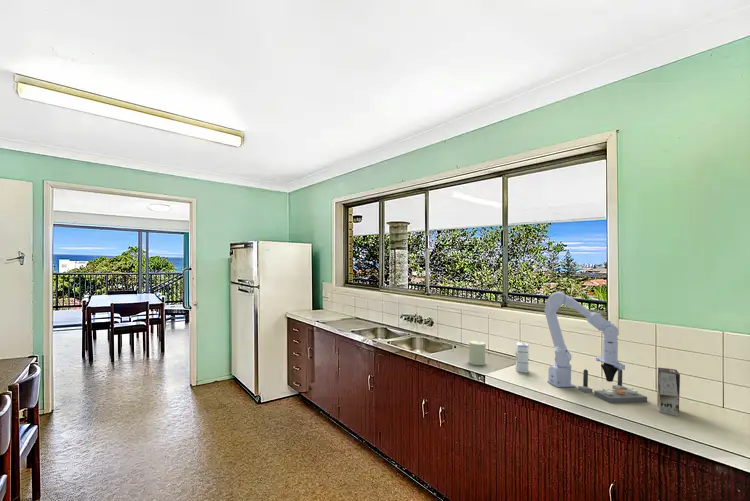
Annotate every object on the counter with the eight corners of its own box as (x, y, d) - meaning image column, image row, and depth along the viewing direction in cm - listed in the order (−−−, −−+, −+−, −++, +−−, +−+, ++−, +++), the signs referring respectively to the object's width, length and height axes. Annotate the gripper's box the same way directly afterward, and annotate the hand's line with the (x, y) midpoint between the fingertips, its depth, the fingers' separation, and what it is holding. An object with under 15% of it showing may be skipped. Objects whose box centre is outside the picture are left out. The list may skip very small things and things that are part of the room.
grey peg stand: (584, 392, 170) (585, 370, 170) (578, 389, 174) (578, 368, 174) (592, 392, 171) (592, 370, 171) (586, 389, 175) (586, 368, 175)
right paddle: (632, 394, 164) (633, 390, 164) (626, 391, 167) (626, 387, 167) (637, 393, 164) (637, 390, 164) (631, 391, 167) (631, 387, 167)
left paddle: (608, 394, 162) (608, 391, 162) (602, 392, 165) (603, 388, 165) (613, 394, 162) (613, 390, 162) (607, 392, 165) (607, 388, 165)
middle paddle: (620, 394, 163) (620, 390, 163) (614, 391, 166) (615, 388, 166) (625, 394, 163) (625, 390, 163) (619, 391, 166) (619, 388, 166)
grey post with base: (619, 391, 173) (619, 370, 174) (612, 388, 177) (612, 367, 177) (627, 391, 174) (627, 370, 174) (620, 388, 178) (620, 367, 178)
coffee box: (679, 416, 146) (680, 374, 147) (659, 412, 150) (659, 371, 150) (676, 409, 154) (677, 369, 154) (656, 405, 158) (657, 366, 158)
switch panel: (610, 403, 158) (610, 398, 158) (594, 395, 167) (594, 390, 167) (647, 401, 161) (647, 396, 161) (629, 394, 170) (629, 389, 170)
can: (487, 362, 215) (487, 341, 215) (482, 366, 207) (483, 344, 208) (471, 359, 220) (472, 339, 220) (466, 363, 212) (466, 341, 212)
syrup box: (528, 373, 198) (529, 345, 198) (516, 371, 199) (517, 344, 199) (526, 369, 203) (527, 342, 203) (515, 368, 204) (515, 342, 205)
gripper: (631, 355, 164) (630, 386, 164) (605, 347, 178) (605, 375, 178) (617, 355, 163) (616, 386, 163) (592, 347, 177) (591, 376, 177)
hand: (609, 381), depth 170 cm, fingers closed
